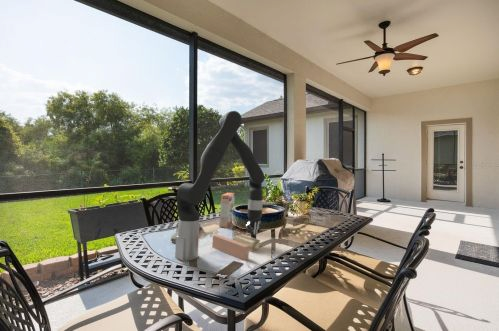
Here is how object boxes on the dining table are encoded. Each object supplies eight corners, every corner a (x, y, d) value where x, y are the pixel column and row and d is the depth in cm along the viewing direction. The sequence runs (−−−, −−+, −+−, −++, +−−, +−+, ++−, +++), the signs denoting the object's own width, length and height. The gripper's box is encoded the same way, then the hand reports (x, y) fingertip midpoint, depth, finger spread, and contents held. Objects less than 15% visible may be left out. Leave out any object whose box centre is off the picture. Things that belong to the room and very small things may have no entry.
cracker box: (228, 228, 176) (229, 195, 175) (218, 227, 177) (220, 194, 176) (233, 223, 189) (235, 192, 188) (225, 222, 191) (226, 192, 190)
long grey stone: (165, 245, 142) (183, 248, 141) (166, 235, 142) (184, 238, 141) (187, 225, 177) (203, 227, 176) (188, 217, 176) (203, 219, 175)
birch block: (251, 252, 135) (251, 242, 135) (234, 245, 144) (234, 236, 144) (259, 249, 140) (259, 240, 140) (242, 243, 148) (243, 234, 148)
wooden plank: (224, 276, 105) (213, 273, 107) (224, 280, 105) (213, 276, 107) (243, 263, 120) (233, 260, 122) (243, 266, 120) (232, 263, 122)
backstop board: (243, 260, 124) (244, 247, 124) (212, 247, 139) (212, 235, 139) (248, 258, 126) (249, 245, 126) (216, 245, 141) (217, 234, 141)
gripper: (257, 205, 152) (256, 236, 153) (241, 208, 142) (239, 241, 143) (268, 208, 147) (266, 240, 148) (252, 210, 137) (250, 245, 138)
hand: (253, 240), depth 145 cm, fingers closed
